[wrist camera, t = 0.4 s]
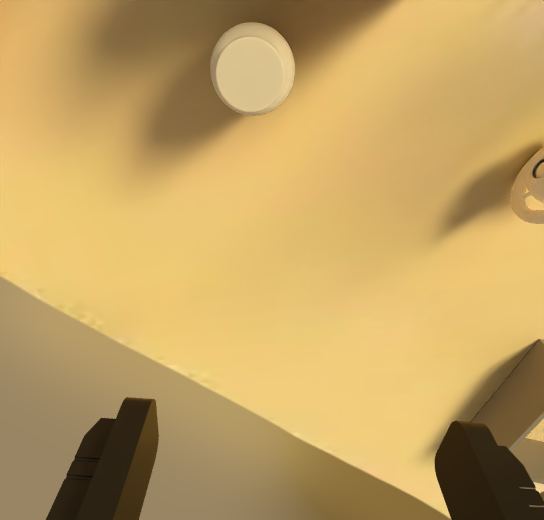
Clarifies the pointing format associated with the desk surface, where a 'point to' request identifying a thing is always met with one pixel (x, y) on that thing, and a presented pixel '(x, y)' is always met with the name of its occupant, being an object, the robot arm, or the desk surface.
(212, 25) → the desk surface
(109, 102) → the desk surface
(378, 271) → the desk surface
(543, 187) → the white round piece
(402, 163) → the desk surface
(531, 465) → the tray
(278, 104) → the supplement bottle
